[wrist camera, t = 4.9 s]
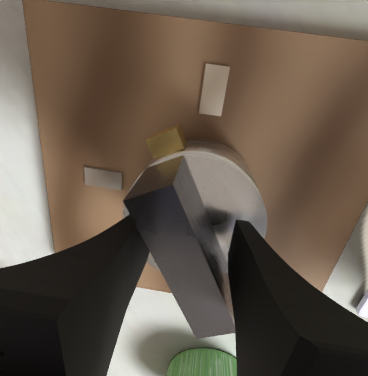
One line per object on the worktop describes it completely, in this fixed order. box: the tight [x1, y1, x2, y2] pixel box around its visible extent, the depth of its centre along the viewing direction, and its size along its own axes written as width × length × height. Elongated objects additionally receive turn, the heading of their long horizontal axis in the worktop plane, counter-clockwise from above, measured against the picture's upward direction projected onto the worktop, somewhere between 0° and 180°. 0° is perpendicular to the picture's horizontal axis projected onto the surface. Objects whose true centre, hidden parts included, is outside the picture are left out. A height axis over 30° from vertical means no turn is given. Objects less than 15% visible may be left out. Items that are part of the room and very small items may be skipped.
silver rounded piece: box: [123, 124, 267, 339], centre depth 12 cm, size 8×7×7 cm
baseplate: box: [22, 0, 368, 293], centre depth 16 cm, size 20×18×2 cm
